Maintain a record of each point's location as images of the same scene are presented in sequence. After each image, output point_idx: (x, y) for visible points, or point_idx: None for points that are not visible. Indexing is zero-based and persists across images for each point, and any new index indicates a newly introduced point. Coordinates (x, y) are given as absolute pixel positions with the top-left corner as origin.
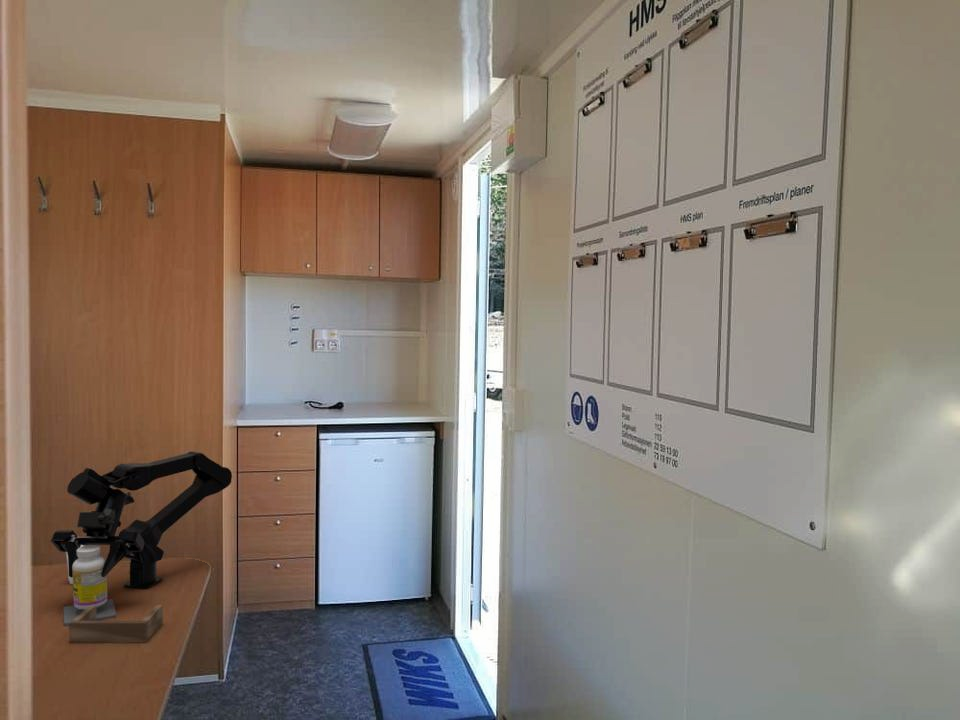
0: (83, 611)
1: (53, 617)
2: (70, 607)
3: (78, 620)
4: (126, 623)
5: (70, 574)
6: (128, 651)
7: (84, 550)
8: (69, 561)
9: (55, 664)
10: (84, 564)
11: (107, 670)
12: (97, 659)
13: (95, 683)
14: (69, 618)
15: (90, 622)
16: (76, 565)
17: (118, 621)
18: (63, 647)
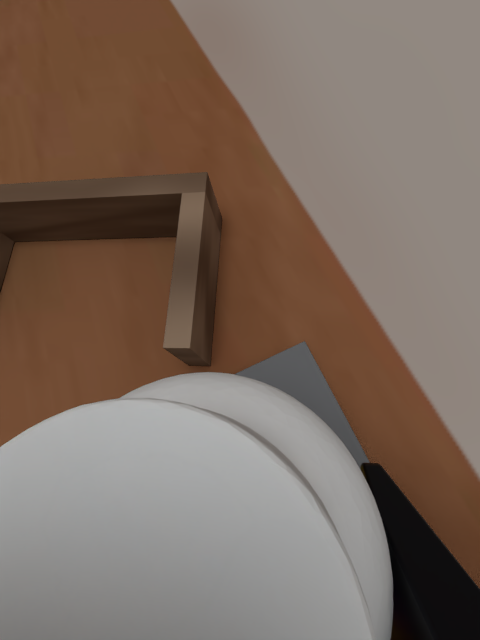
0: (195, 278)
1: (401, 437)
2: None
3: (182, 197)
4: (9, 185)
5: (366, 464)
6: (40, 177)
7: (152, 503)
8: (473, 599)
9: (203, 106)
10: (186, 394)
11: (71, 94)
12: (107, 135)
13: (82, 49)
14: (307, 392)
15: (130, 182)
16: (283, 404)
17: (36, 195)
18: (225, 189)
